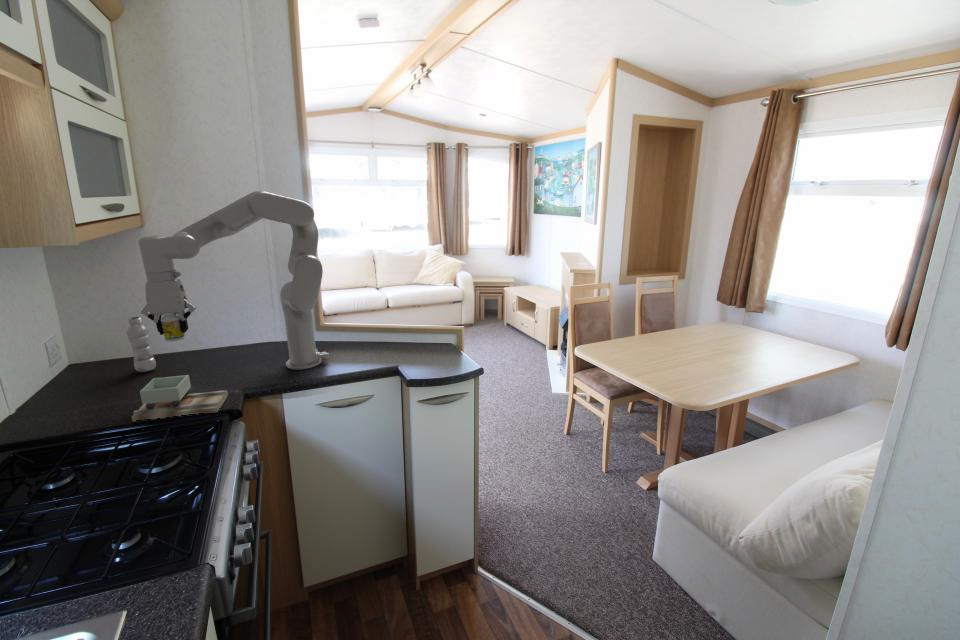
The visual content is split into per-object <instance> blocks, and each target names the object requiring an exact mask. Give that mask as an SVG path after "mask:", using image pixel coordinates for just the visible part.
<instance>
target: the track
mask: <svg viewBox="0 0 960 640" xmlns="http://www.w3.org/2000/svg"><path fill="white" fill-rule="evenodd" d="M228 395H229V392H228V390H225V389H224V390H216V391H207V392H205V391H204V392H196V393H195V392H194V393H188V394H187V395H184V396H183V397H182V399H181V400H180V402H181V403H180V404H179V406H177V407H174V406H172V401H169V402H159V403H155V406H154V408H153V409H147V408H146V404H142V405H141V406H140V407H139V409H135V410H133V411H132V412H133V415H131V419H132V420H131V421H132V422H137V421H136V420H142V421H145V420H144V419H151V420H158V419H157V418H160V419H167V418H166V417H169V418H174V417H173V416H178V417H182V416H181V415H187V416H189V415H188V414H196V415H200V414H199V413H204V414H213V413H219V411H220V409H221V407H222V406H223V404H224V403H225V400H226V399H227V397H228ZM219 408H220V409H219ZM218 410H219V411H218Z"/></svg>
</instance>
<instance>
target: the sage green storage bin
mask: <svg viewBox="0 0 960 640" xmlns="http://www.w3.org/2000/svg"><path fill="white" fill-rule="evenodd" d="M191 388H192V384H191V380H190V374H186V375H175V376H174V375H173V376H165V377H154V378H152V379H151V380H150V381H148V383H147V384H145V386H144V387H142V388H141V389H140V391H139V395H140V398H141V404H142V405H143V404H146V408H147V409H153V408H154V406H155V403H159V402H169V401H172V406H174V407H177V406H179V404H180V403H181V402H180V400H181V399H182V397H183V396H184V395H187V394H190V389H191Z"/></svg>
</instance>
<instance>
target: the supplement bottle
mask: <svg viewBox="0 0 960 640" xmlns="http://www.w3.org/2000/svg"><path fill="white" fill-rule="evenodd" d="M180 321H181V320H180V318H179V316H178V314H177V313H163V314H162V318H161V324H162V328H163V332H164V334H163V336H164V340H165V341H167V342H178V341H182V340H184V339H185V337H186V333H182V332H181V327H180V323H179V322H180Z"/></svg>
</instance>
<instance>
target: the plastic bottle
mask: <svg viewBox="0 0 960 640" xmlns="http://www.w3.org/2000/svg"><path fill="white" fill-rule="evenodd" d="M128 324H129V325H130V326H129V327H128V328H127V331H126V336H127V339H128V341H129V343H130V346H131V350H132V354H133V355H132V356H133V367H134V370H135V371H137V372H139V373H147V372H149V371H153V370H155V369H156V367H157V362H156V361H157V360H156V359H155V357H154V355H153V351H152V348H151V344H150V343H151V342H150V332H149V329H148V328H147V327H146V326H145V325H144V324H143V321H142V317H141V316H133V317H128Z"/></svg>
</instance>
